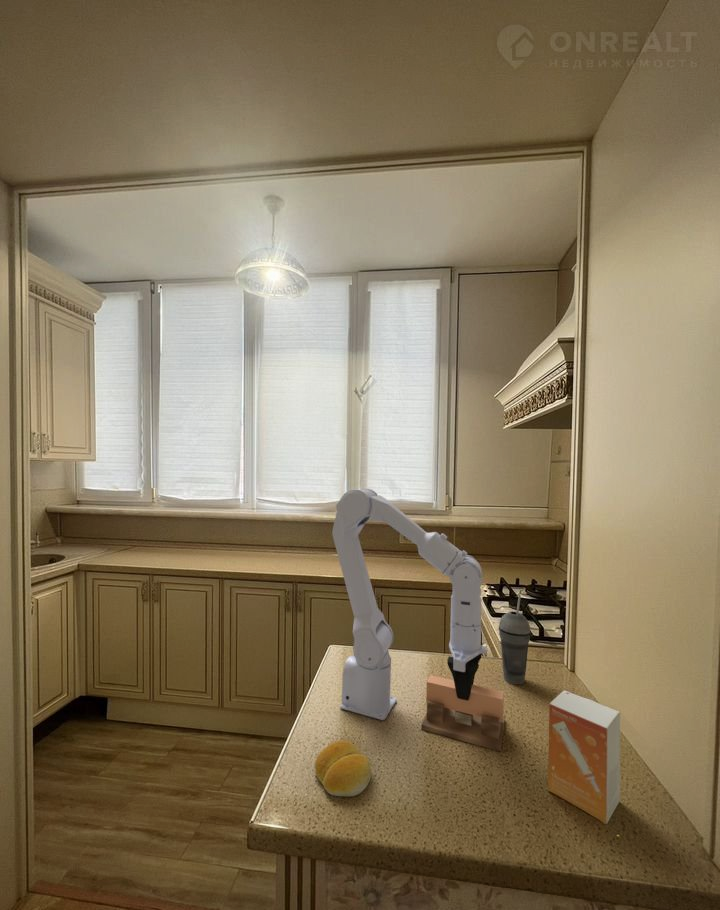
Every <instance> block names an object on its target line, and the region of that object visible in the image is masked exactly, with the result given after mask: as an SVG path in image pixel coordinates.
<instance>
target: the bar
mask: <svg viewBox="0 0 720 910" xmlns="http://www.w3.org/2000/svg"><path fill="white" fill-rule="evenodd" d="M425 699H426V700H425V701H426V704H427V701H428V700H429V701H433V702H437V703H441V704H444V708H448V709H452V710H455V711H459V712H463V713H467V714H471V715H475V716H479V717H481V716H482V714H485V715H489V716H493V717H496V718H499V722H502V723H503V716H505V715H504V712H505V710H504V708H505V705H504V703H505V692H504V691H502V690H498V689H493V688H489V687H484V686H479V685H476V684H473V685H472V688H471V694H470V697H469V700H468V701H467V700H463V699H459V698H457V694H456V689H455V684H454V679H450V678H446V677H445V678H444V677H441V676H440V677H439V676H436V675H432V674H430V675H429V677H428V678H427V681H426V698H425Z"/></svg>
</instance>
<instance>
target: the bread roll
mask: <svg viewBox="0 0 720 910" xmlns="http://www.w3.org/2000/svg"><path fill="white" fill-rule="evenodd" d="M314 771H315V775H316V777H317V778H318V780H319V781H320V783H321V784H322V785H323V788H324V789H325V791H326V792H327V793H328V794H329V795H331V796H336V797H355V796H357V795H359V794H361V793H362V792H363V791H364V790H365V789H366V788H367V787H368V785H369V784H370V780H371V776H372V768H371V762H370V760H369V759H368V758H367V757H366V756H365V755H363V753H362V751H361V750H360V749H359V748H358V747H357V746H356V745H355V744H353V743H352V742H349V741H346V740H339V741H333V742H331V743H329V744H328V745H327V746H325V747H324V748H323V749H321V751H320V752H319V754H318V755H317V757H316V758H315V762H314Z"/></svg>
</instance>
